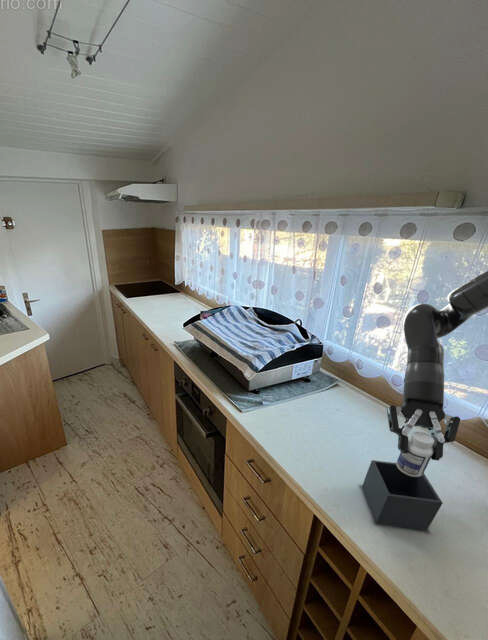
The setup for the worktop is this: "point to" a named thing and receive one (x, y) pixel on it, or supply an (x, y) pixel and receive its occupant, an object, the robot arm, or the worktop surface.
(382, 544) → the worktop surface
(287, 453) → the worktop surface
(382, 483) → the waste bin
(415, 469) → the pill bottle
